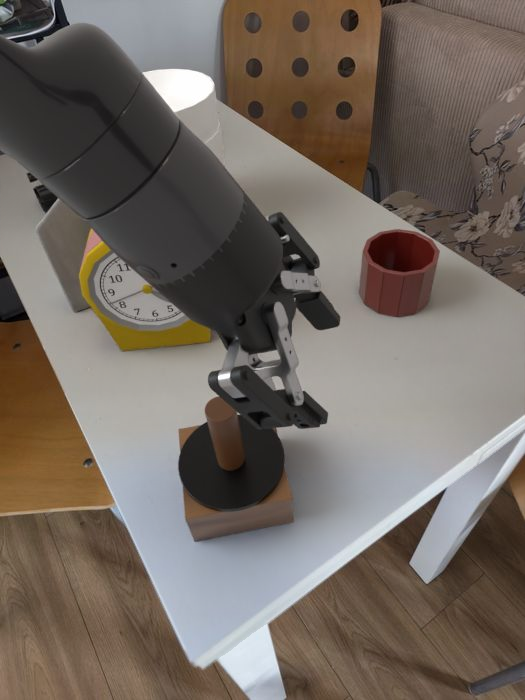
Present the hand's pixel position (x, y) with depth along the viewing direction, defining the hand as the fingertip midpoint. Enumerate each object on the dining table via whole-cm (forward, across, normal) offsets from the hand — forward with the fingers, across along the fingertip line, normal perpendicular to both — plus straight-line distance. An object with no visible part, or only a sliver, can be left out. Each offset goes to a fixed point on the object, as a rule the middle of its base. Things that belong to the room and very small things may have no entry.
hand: (323, 370), depth 40 cm
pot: (+22, +26, +5) cm, 35 cm away
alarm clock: (+7, +16, +30) cm, 34 cm away
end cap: (-2, +41, +56) cm, 69 cm away
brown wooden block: (+11, -5, +15) cm, 19 cm away
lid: (+6, -4, +13) cm, 15 cm away
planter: (+4, +25, +39) cm, 46 cm away
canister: (+8, +41, +36) cm, 56 cm away
